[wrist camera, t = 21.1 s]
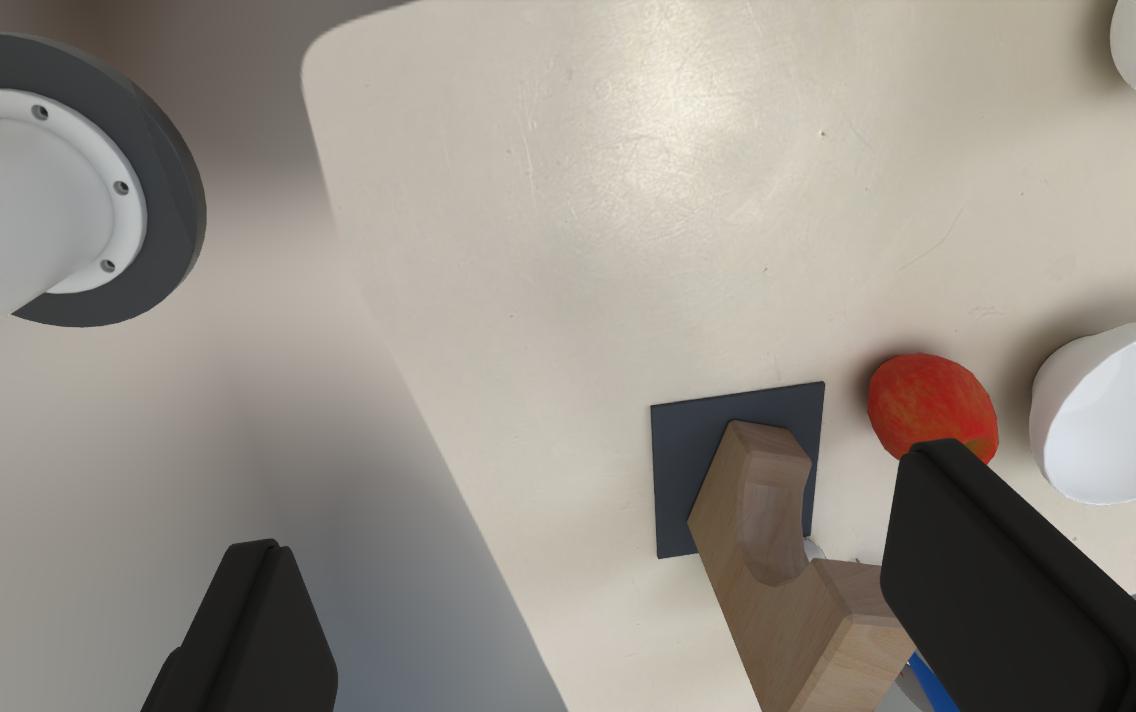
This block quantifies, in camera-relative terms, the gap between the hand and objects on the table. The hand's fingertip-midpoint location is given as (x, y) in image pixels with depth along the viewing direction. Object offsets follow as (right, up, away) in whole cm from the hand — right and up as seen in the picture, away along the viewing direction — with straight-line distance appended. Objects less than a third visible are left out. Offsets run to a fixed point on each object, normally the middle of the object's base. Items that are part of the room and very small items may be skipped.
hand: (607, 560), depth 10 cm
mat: (+14, -7, +46) cm, 49 cm away
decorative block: (+13, -7, +46) cm, 49 cm away
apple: (+26, +1, +44) cm, 51 cm away
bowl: (+42, +2, +46) cm, 62 cm away
